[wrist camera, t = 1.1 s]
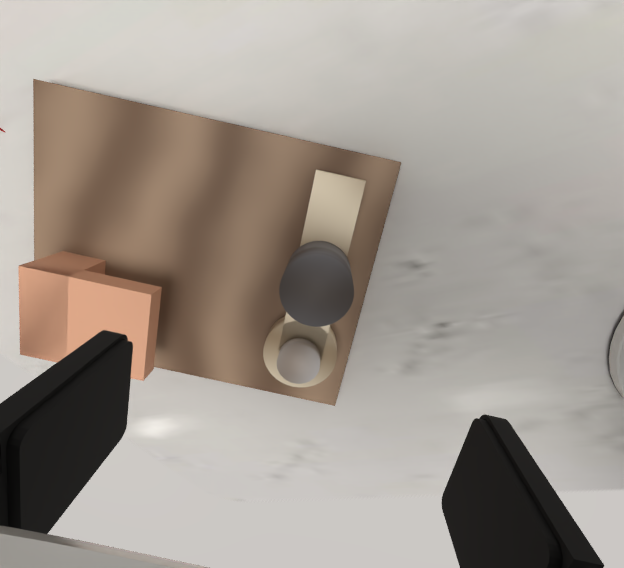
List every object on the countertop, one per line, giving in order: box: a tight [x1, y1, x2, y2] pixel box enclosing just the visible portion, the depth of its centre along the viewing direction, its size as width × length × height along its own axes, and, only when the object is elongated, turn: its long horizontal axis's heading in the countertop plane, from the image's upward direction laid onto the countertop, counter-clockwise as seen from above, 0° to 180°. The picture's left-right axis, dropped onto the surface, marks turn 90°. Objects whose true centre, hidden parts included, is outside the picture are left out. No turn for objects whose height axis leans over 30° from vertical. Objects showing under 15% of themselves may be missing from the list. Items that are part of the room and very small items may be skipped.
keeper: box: [19, 251, 162, 381], centre depth 26 cm, size 8×6×4 cm
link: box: [263, 170, 366, 387], centre depth 24 cm, size 14×5×6 cm, turn 168°
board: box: [33, 79, 401, 406], centre depth 26 cm, size 23×18×5 cm
